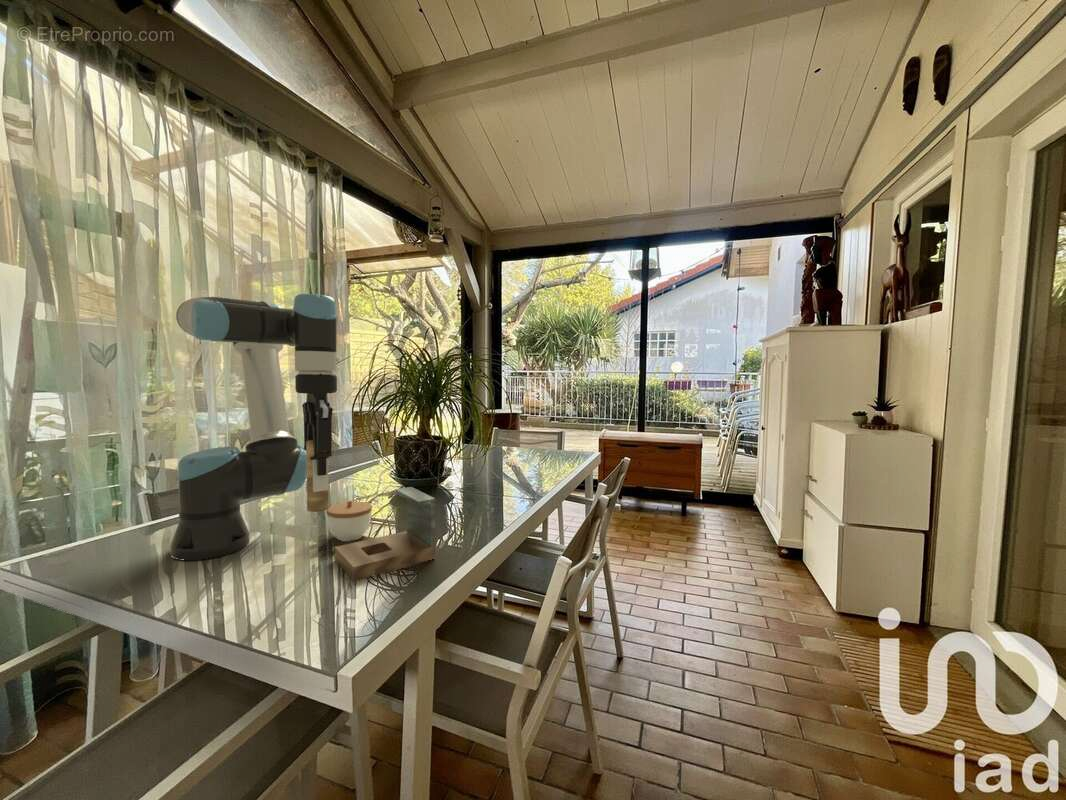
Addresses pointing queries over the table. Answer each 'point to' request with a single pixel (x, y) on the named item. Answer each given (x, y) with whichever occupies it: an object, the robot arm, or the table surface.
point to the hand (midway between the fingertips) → (317, 488)
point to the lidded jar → (349, 519)
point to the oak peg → (314, 499)
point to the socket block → (394, 542)
